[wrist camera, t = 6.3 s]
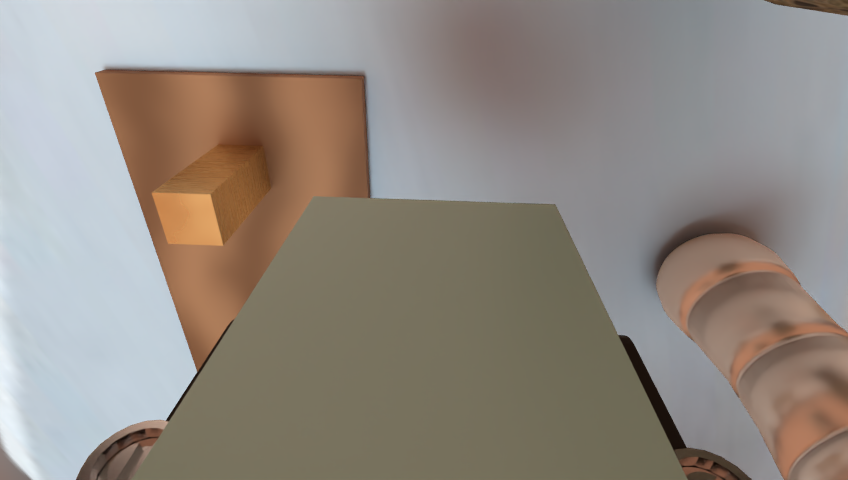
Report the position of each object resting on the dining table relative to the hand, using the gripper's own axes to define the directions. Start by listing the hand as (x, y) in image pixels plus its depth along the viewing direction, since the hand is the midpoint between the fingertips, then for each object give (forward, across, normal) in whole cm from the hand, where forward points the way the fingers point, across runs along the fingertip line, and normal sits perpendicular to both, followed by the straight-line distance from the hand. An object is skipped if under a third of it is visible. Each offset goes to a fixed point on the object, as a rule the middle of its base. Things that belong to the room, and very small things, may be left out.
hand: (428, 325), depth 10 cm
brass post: (+16, +11, +3) cm, 20 cm away
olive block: (+1, 0, 0) cm, 1 cm away
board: (+17, +11, +9) cm, 22 cm away
